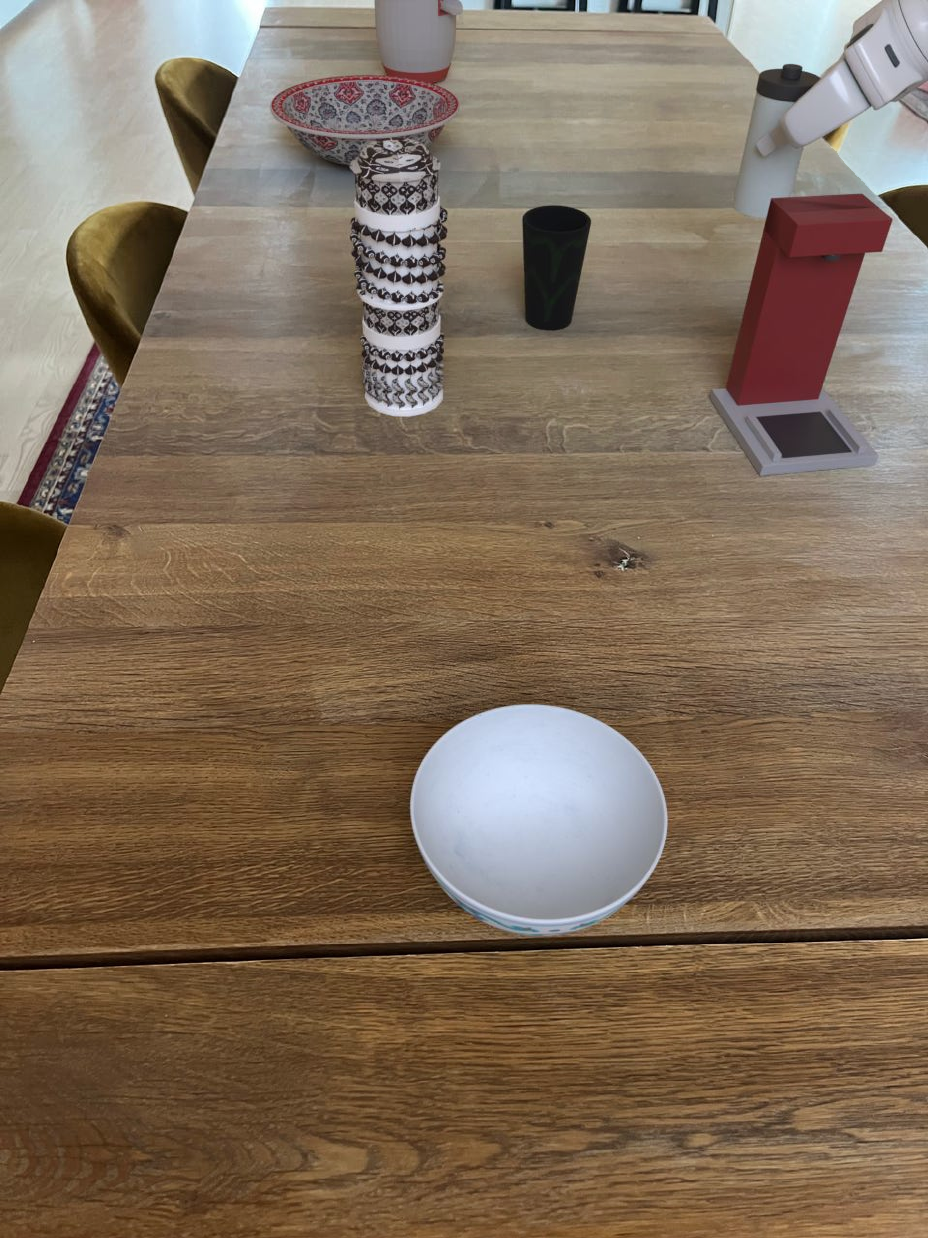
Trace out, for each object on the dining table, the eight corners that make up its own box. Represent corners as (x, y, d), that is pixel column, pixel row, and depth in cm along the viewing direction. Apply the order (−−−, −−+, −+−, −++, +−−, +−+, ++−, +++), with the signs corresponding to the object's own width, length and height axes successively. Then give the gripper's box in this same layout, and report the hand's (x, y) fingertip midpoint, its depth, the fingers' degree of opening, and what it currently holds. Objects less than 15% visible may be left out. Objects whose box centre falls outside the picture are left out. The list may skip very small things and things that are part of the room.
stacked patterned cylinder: (454, 415, 98) (456, 162, 80) (365, 422, 97) (347, 167, 79) (441, 370, 104) (440, 127, 87) (357, 376, 103) (339, 131, 85)
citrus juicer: (434, 96, 173) (434, -34, 159) (359, 79, 180) (352, -47, 166) (480, 76, 183) (483, -49, 169) (407, 60, 189) (404, -61, 175)
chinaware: (452, 752, 67) (453, 681, 62) (663, 806, 64) (683, 735, 59) (379, 944, 57) (372, 878, 51) (625, 1017, 54) (645, 956, 48)
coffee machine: (874, 465, 93) (956, 256, 78) (759, 476, 91) (821, 264, 76) (814, 390, 102) (877, 192, 88) (709, 398, 101) (755, 198, 86)
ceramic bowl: (495, 167, 148) (497, 112, 142) (331, 206, 136) (327, 148, 131) (398, 116, 165) (396, 64, 159) (245, 146, 153) (238, 92, 147)
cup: (548, 341, 109) (556, 238, 101) (503, 317, 113) (508, 216, 105) (593, 320, 113) (605, 220, 104) (548, 298, 117) (556, 199, 108)
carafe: (798, 208, 108) (835, 66, 98) (768, 223, 105) (804, 78, 95) (750, 193, 111) (782, 54, 101) (720, 207, 108) (749, 65, 98)
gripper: (895, 0, 99) (779, 88, 109) (854, 43, 86) (727, 139, 96) (924, 54, 101) (807, 136, 111) (888, 105, 88) (760, 193, 98)
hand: (770, 138), depth 103 cm, fingers closed on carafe, 6 cm apart
